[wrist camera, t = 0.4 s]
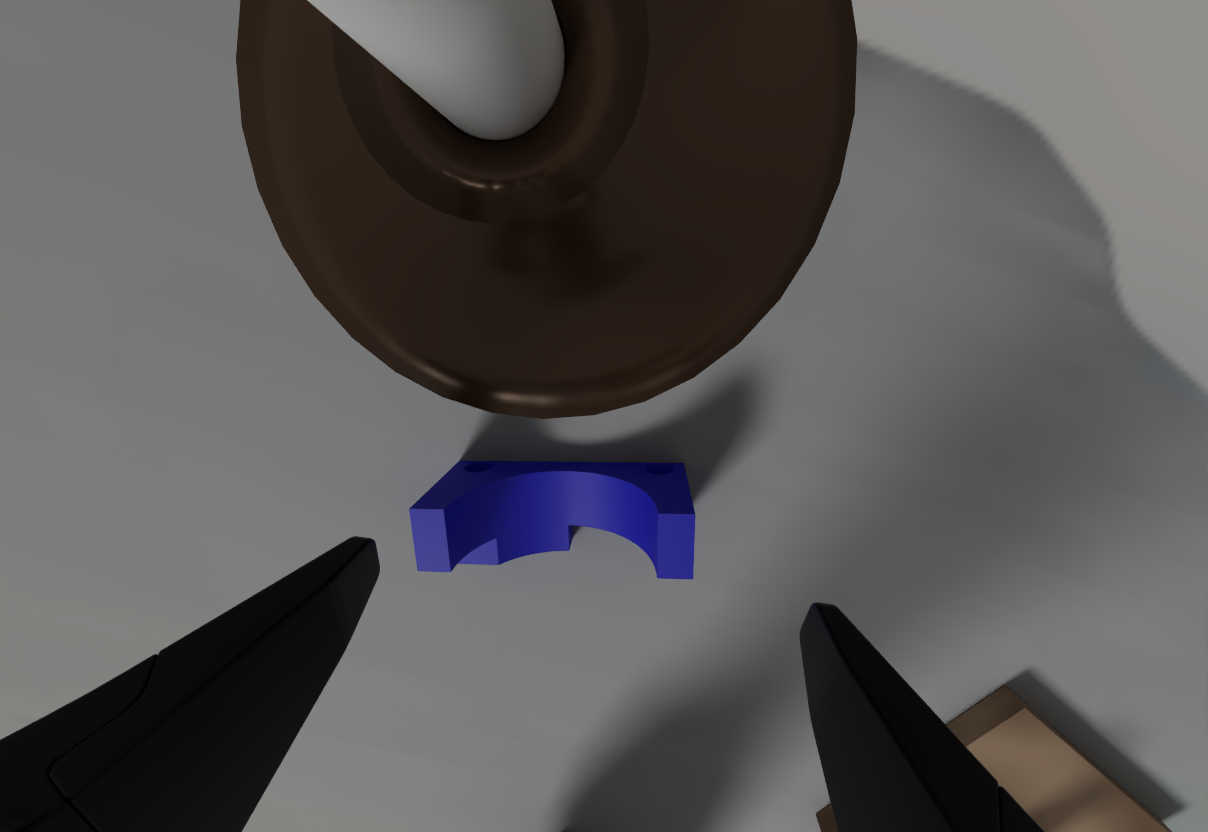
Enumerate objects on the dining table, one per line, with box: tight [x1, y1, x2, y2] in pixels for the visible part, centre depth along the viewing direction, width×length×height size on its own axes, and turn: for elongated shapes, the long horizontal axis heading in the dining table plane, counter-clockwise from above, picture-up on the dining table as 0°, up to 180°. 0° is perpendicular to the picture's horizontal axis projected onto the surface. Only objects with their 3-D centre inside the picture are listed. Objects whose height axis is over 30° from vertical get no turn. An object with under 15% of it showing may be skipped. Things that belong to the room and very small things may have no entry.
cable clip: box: [409, 461, 695, 579], centre depth 23 cm, size 12×4×6 cm, turn 91°
